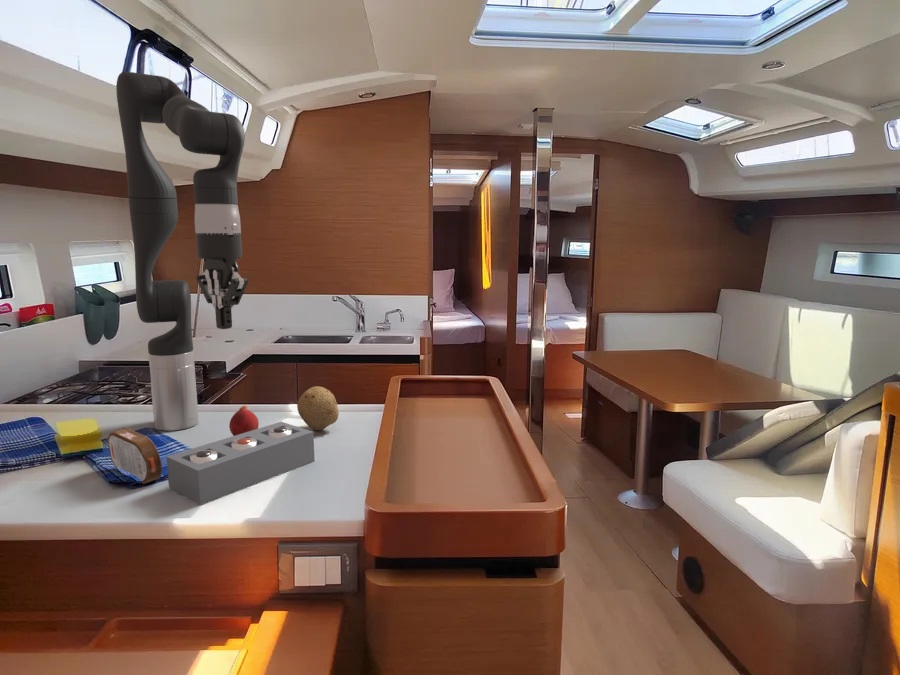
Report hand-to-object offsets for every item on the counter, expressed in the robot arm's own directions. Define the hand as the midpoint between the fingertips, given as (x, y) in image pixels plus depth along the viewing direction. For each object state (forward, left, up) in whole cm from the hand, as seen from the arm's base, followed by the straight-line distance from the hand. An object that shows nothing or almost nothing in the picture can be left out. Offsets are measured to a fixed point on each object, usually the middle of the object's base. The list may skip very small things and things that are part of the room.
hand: (224, 328), depth 109 cm
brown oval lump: (-5, +25, -27) cm, 37 cm away
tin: (-11, -13, -27) cm, 32 cm away
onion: (-11, +10, -27) cm, 31 cm away
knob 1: (+4, -8, -25) cm, 26 cm away
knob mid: (+4, 0, -25) cm, 25 cm away
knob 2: (+4, +8, -25) cm, 26 cm away
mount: (+4, 0, -27) cm, 27 cm away
